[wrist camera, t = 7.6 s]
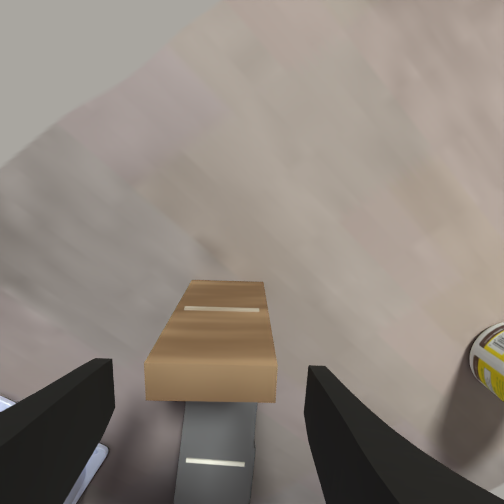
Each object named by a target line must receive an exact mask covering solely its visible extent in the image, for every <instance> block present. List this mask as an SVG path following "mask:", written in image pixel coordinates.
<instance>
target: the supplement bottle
mask: <svg viewBox="0 0 504 504" xmlns="http://www.w3.org/2000/svg"><path fill="white" fill-rule="evenodd" d="M470 367H471V370H472V372H473V374H474V376H475V377H476V378H477V379H478V380H479V381H480V382H481V383H482V384H483V385H484V386H485V387H487V388H488V389H489V390H490V391H491V392H492V393H494V394H495V395H496V396H497V397H499V398H500V399H501V400H502V401H503V402H504V322H502V323H498V324H496V325H493V326H491V327H490V328H488V329H486V330H485V331H484V332H483V333H481V335H480V336H479V337H478V338H477V339H476V341H475V342H474V344H473V346H472V348H471V352H470Z"/></svg>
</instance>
